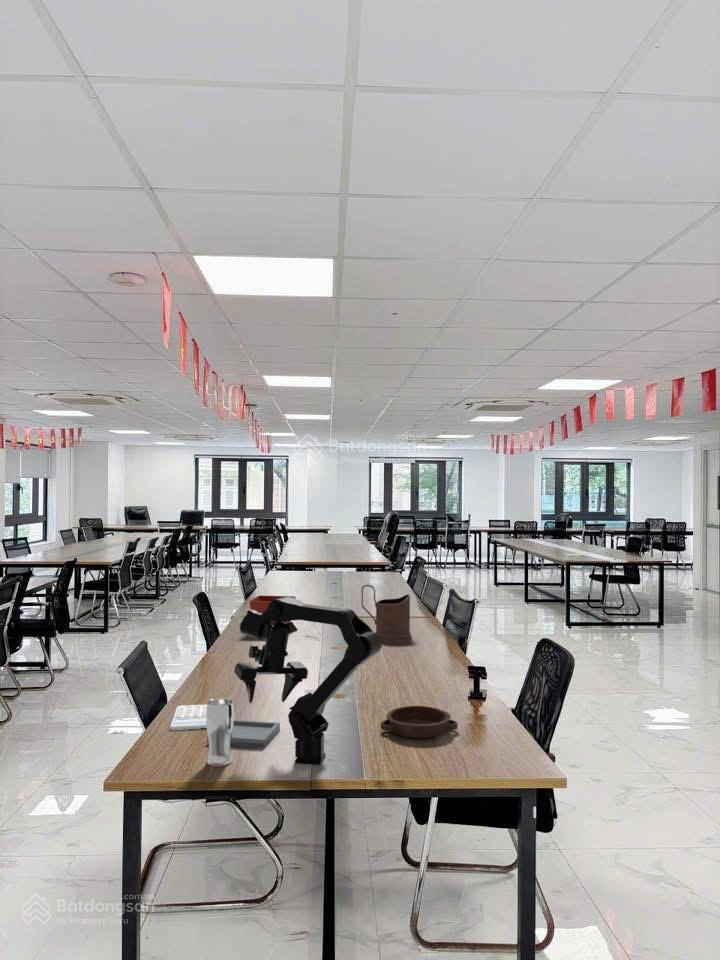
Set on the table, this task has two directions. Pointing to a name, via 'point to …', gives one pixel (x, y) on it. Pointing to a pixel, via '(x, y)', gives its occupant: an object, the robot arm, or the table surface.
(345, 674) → the robot arm
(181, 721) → the calculator
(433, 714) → the dish
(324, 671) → the table surface
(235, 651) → the table surface
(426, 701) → the table surface
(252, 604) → the plant pot
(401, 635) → the brown pitcher
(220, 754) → the silver metal cup
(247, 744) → the grey tray
